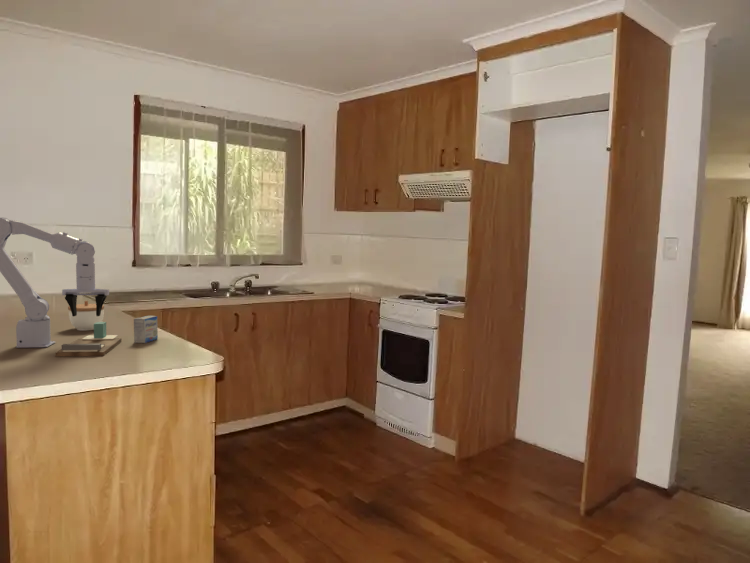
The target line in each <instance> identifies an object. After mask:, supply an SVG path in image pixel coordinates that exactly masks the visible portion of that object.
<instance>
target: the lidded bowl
mask: <svg viewBox="0 0 750 563" xmlns="http://www.w3.org/2000/svg"><path fill="white" fill-rule="evenodd" d="M76 308H77V315H76V316H72V312H71V309H70V306H69V305H68V306H67V310H68V319H69V322H70V323H71V326H72V327H74V328H75V329H76V331H94V324H95V323H96V322H103V320H104V316H105V314H104V313H105V305H104V304H103V306H102V309H101V314H100V316H96V303H89V301H88V300H85V301H84V303H79V304H78V303H76Z"/></svg>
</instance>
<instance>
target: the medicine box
mask: <svg viewBox="0 0 750 563" xmlns="http://www.w3.org/2000/svg"><path fill="white" fill-rule="evenodd" d="M158 338H159V337H158V316H156V315H145V316H141V317H136V318H133V342H134V343H136V344H147V342H148V343H150V341H151V342H153V340H154V341H156V340H158Z"/></svg>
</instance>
